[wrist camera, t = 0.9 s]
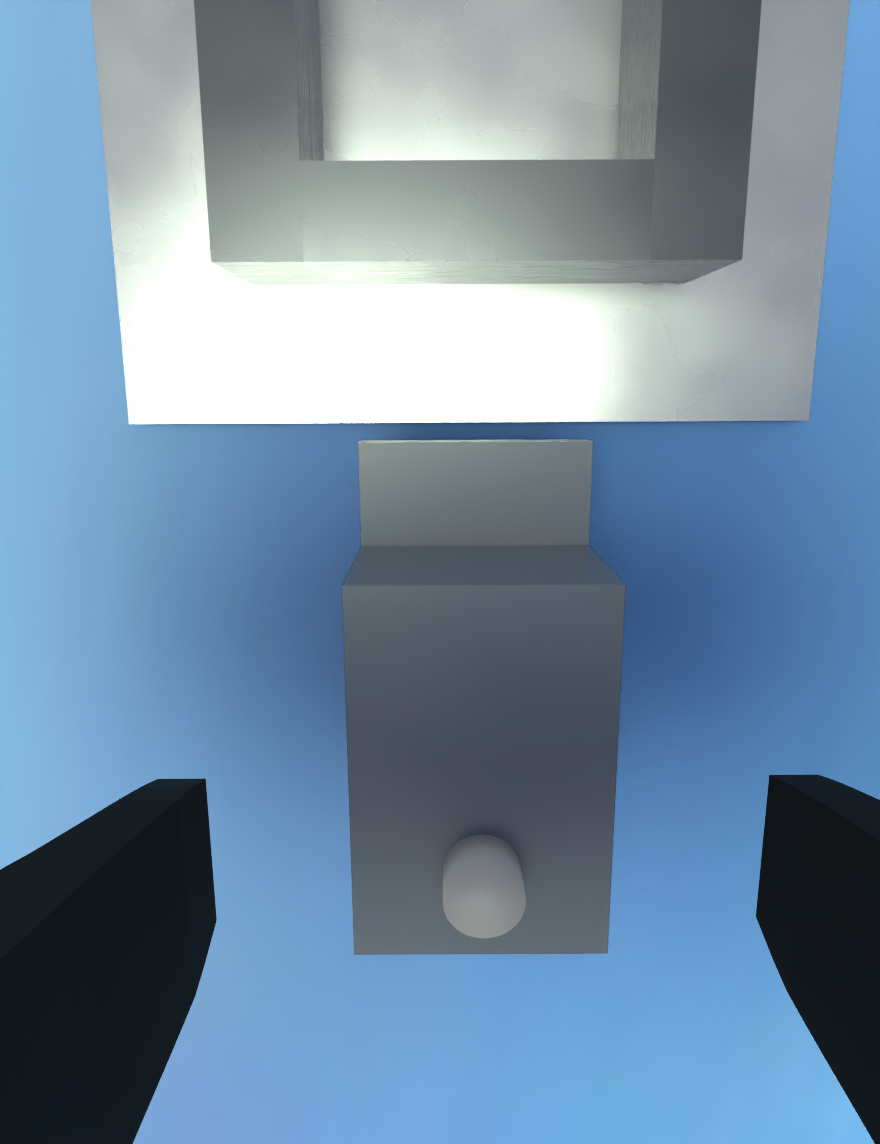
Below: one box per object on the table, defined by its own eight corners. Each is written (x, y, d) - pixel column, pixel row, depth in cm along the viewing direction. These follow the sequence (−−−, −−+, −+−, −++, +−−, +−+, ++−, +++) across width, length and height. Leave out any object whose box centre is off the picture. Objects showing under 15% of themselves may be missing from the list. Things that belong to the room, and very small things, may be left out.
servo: (561, 430, 17) (646, 461, 10) (549, 832, 19) (612, 1090, 12) (375, 430, 17) (329, 463, 10) (384, 833, 19) (351, 1091, 12)
